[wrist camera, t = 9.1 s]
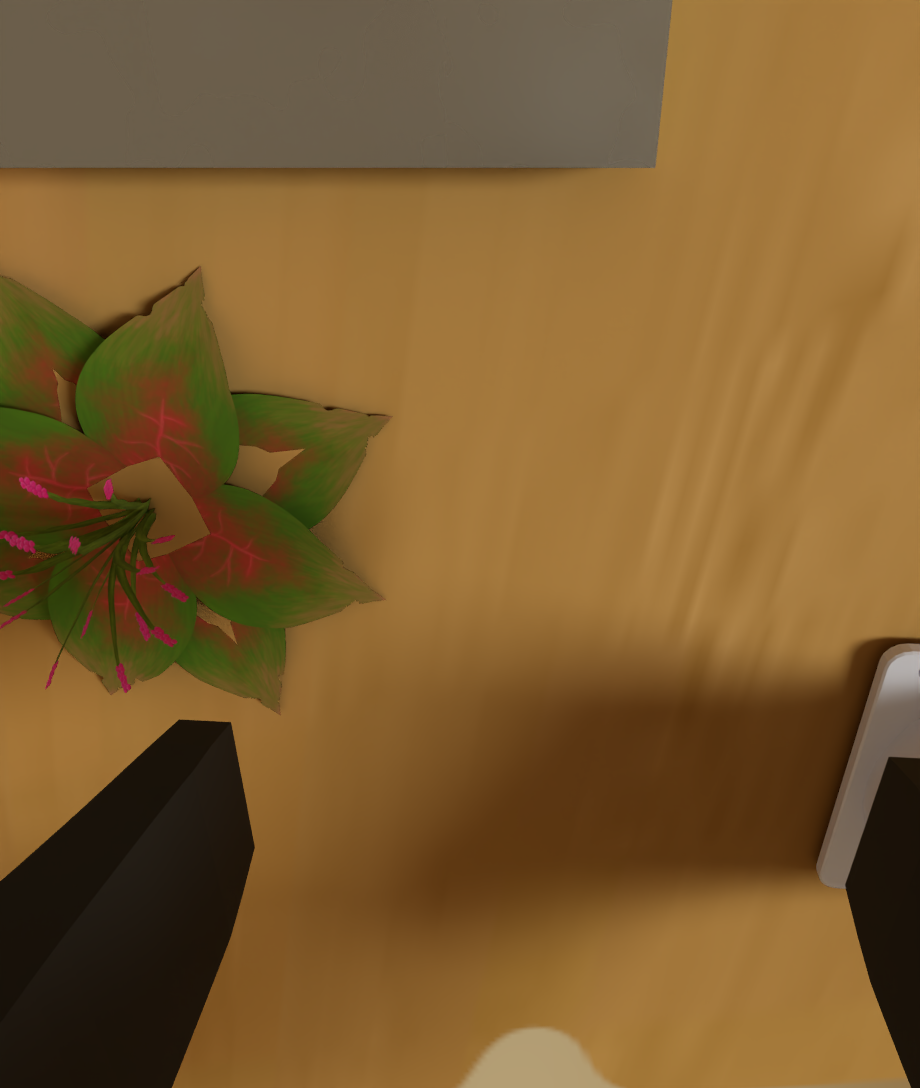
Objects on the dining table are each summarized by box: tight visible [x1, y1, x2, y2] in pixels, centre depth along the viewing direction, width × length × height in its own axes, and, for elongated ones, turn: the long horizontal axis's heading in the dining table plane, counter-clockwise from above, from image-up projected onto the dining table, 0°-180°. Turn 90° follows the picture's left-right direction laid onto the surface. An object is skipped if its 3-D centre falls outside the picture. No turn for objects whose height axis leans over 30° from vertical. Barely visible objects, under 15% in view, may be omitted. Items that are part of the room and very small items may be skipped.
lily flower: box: [0, 266, 393, 715], centre depth 17 cm, size 12×12×5 cm
